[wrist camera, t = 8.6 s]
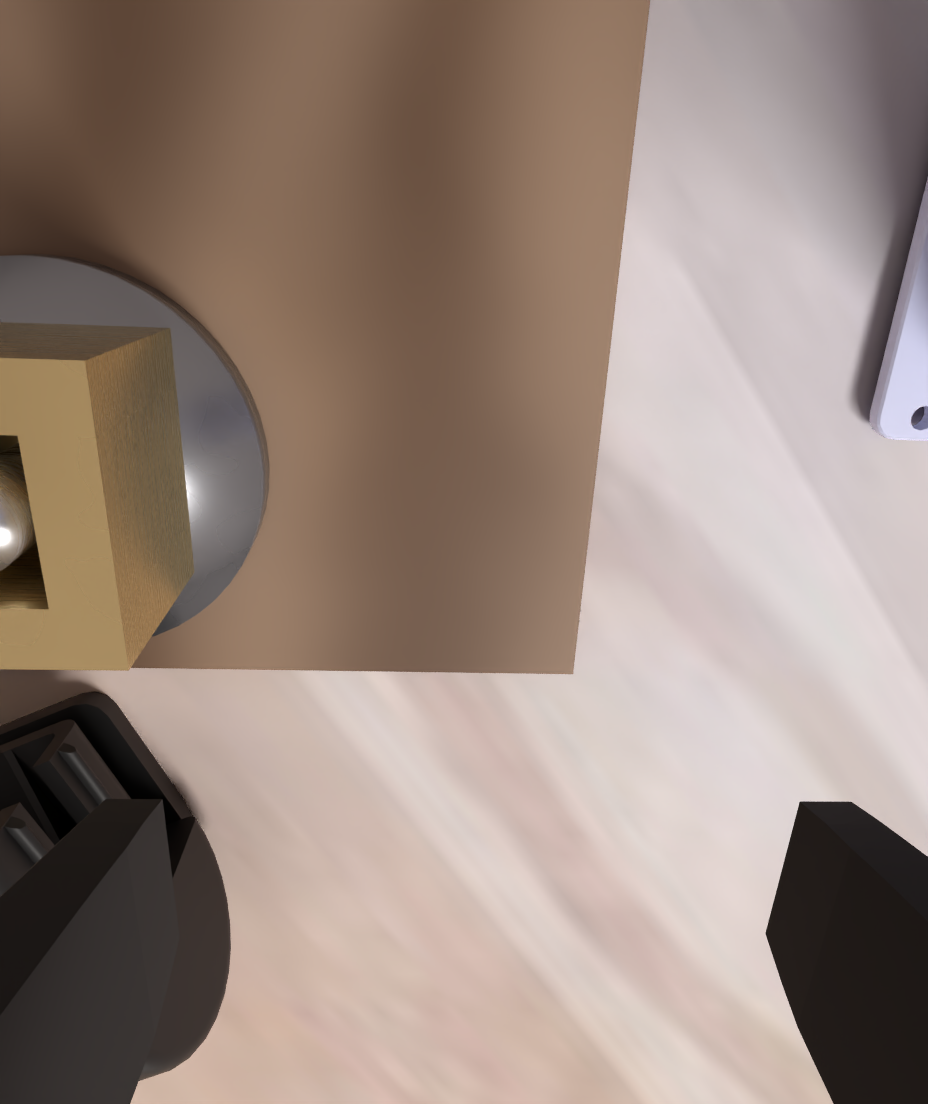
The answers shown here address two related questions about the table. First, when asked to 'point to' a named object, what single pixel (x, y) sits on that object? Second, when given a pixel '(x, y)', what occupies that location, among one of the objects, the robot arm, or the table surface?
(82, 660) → the collar
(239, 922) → the table surface
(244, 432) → the stand
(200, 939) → the end cap
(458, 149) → the board
